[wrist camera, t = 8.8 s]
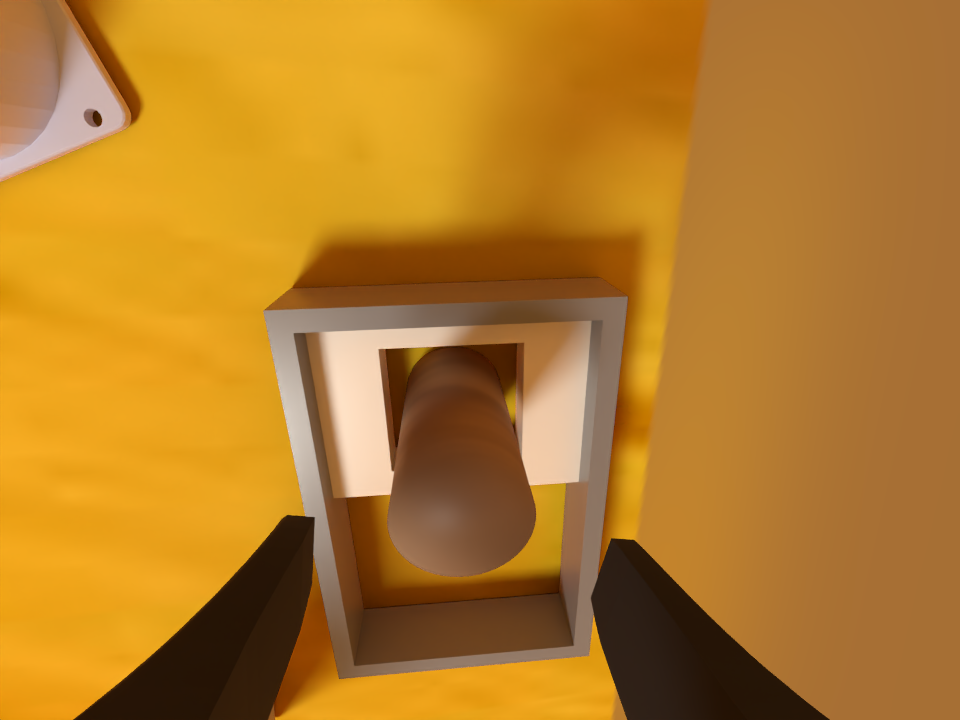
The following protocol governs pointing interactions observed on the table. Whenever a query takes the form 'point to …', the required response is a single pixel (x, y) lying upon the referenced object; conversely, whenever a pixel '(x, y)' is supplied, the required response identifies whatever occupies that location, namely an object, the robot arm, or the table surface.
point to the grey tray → (372, 453)
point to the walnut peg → (458, 470)
